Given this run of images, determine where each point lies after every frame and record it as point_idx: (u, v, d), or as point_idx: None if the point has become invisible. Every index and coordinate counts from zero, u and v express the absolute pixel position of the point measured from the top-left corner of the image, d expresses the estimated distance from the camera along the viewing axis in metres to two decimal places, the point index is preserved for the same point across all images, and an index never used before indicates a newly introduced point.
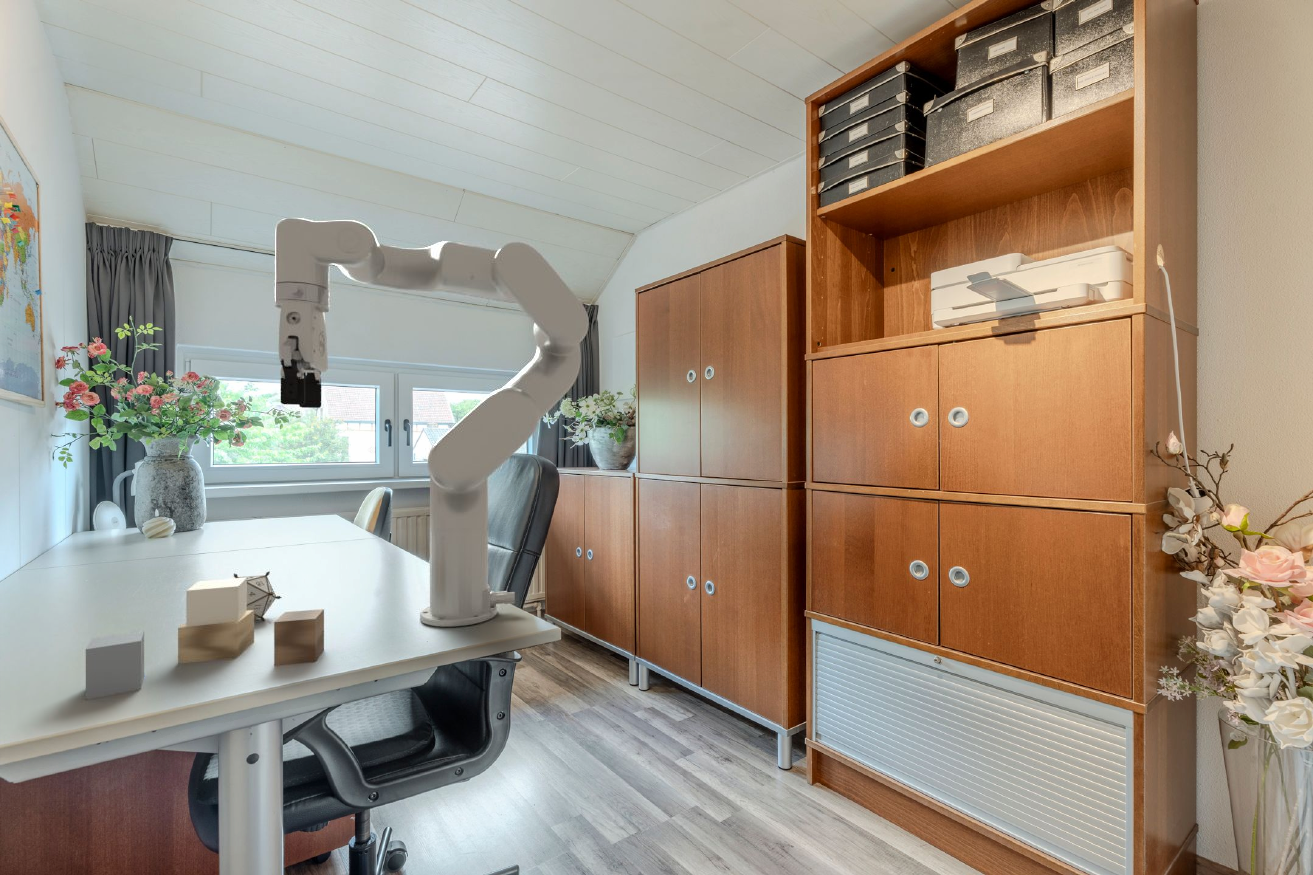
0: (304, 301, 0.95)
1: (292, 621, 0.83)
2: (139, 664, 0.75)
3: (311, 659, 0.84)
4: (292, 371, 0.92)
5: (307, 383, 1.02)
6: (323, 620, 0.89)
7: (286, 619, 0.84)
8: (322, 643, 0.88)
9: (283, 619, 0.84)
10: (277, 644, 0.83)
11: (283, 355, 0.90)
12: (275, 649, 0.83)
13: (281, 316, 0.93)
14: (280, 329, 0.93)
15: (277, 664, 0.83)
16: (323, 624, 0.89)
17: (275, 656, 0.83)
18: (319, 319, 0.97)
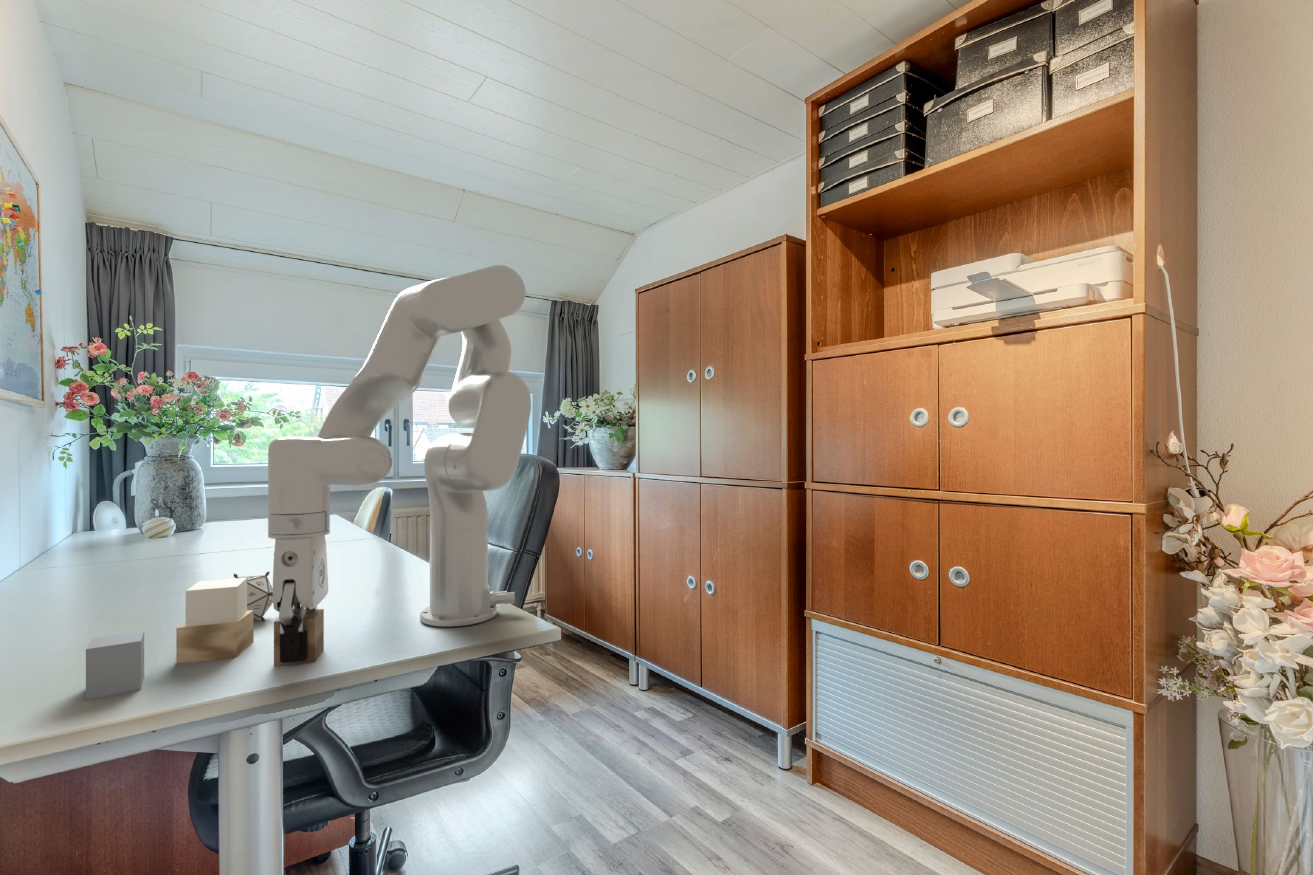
0: (302, 535, 0.83)
1: None
2: (139, 664, 0.75)
3: (311, 659, 0.84)
4: (293, 628, 0.81)
5: None
6: (323, 620, 0.89)
7: None
8: (322, 643, 0.88)
9: None
10: (277, 644, 0.83)
11: (282, 621, 0.79)
12: (275, 649, 0.83)
13: (275, 557, 0.81)
14: (274, 572, 0.81)
15: (277, 664, 0.83)
16: (323, 624, 0.88)
17: (275, 656, 0.83)
18: (319, 548, 0.85)
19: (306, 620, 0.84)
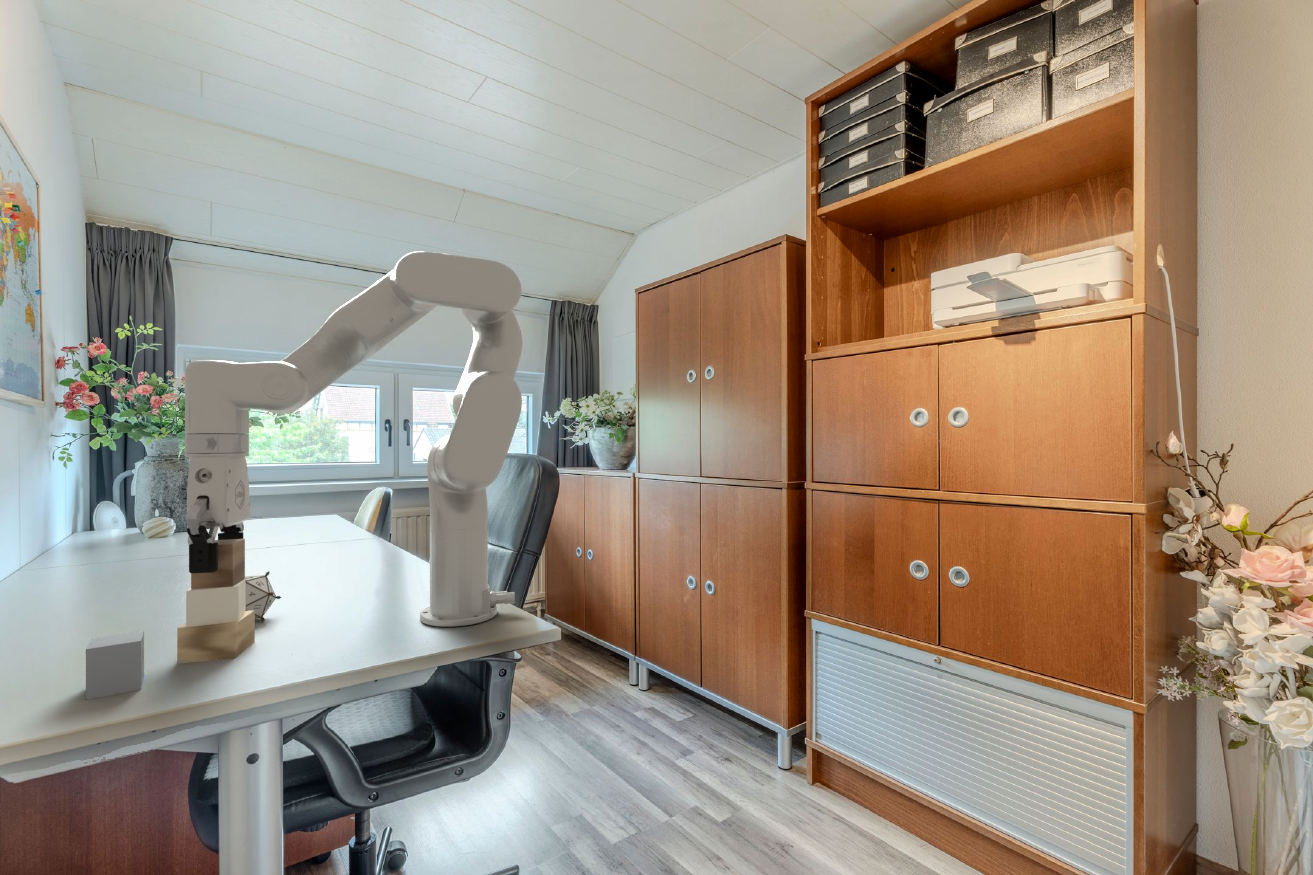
0: (217, 454, 0.85)
1: None
2: (139, 664, 0.75)
3: (228, 583, 0.86)
4: (201, 538, 0.82)
5: (227, 532, 0.92)
6: (244, 549, 0.91)
7: None
8: (242, 571, 0.90)
9: None
10: None
11: (189, 524, 0.80)
12: None
13: (189, 474, 0.83)
14: (188, 489, 0.83)
15: (194, 587, 0.85)
16: (244, 553, 0.91)
17: (192, 579, 0.85)
18: (236, 469, 0.88)
19: (224, 545, 0.86)
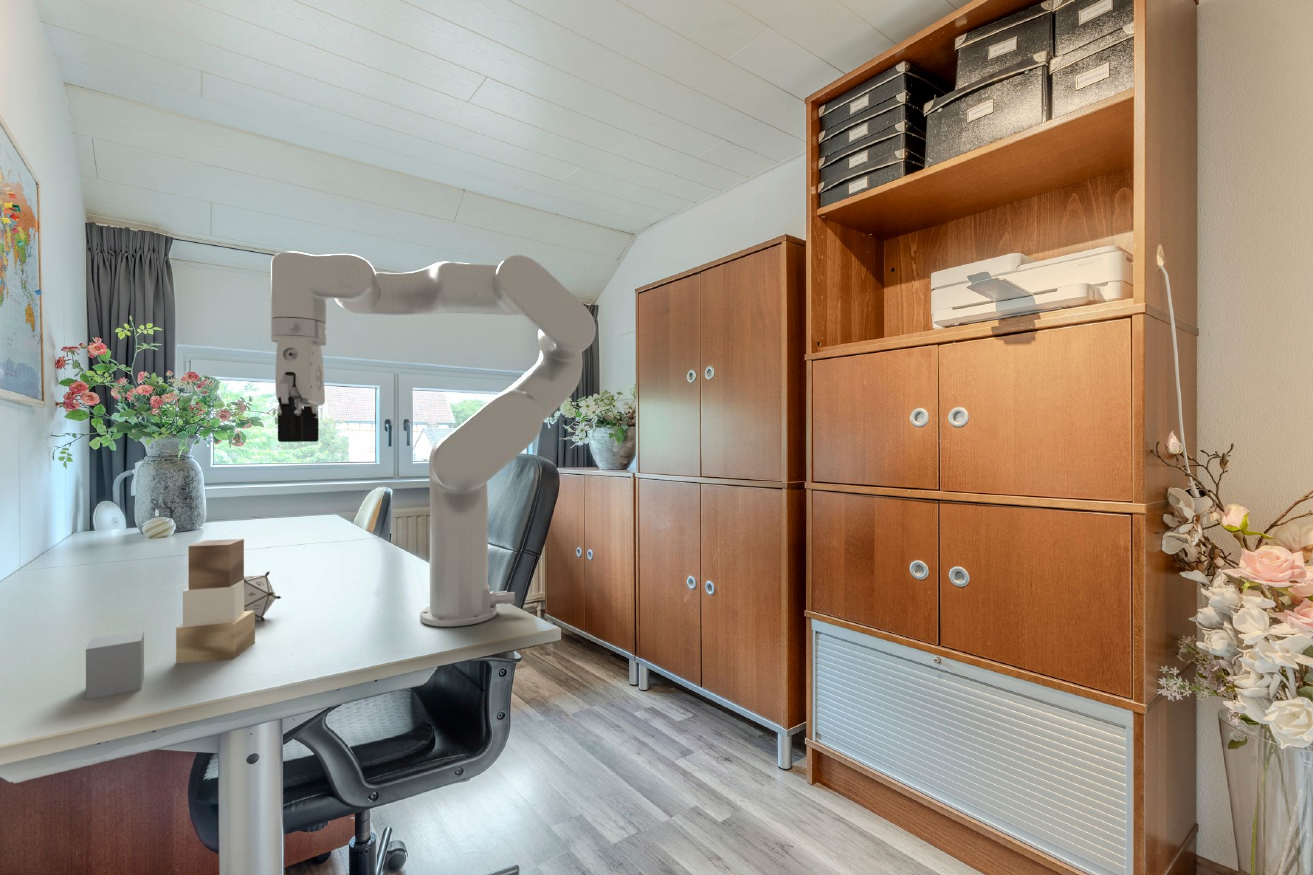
0: (301, 336, 0.93)
1: (206, 546, 0.85)
2: (139, 664, 0.75)
3: (225, 584, 0.86)
4: (289, 409, 0.90)
5: (304, 417, 1.01)
6: (243, 549, 0.91)
7: (201, 544, 0.86)
8: (241, 571, 0.90)
9: (198, 544, 0.86)
10: (191, 568, 0.85)
11: (280, 393, 0.88)
12: (189, 573, 0.85)
13: (278, 352, 0.92)
14: (277, 365, 0.91)
15: (191, 587, 0.85)
16: (242, 553, 0.91)
17: (189, 580, 0.85)
18: (316, 353, 0.96)
19: (221, 546, 0.86)
